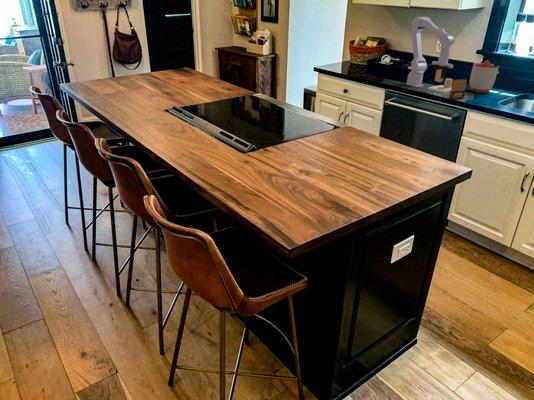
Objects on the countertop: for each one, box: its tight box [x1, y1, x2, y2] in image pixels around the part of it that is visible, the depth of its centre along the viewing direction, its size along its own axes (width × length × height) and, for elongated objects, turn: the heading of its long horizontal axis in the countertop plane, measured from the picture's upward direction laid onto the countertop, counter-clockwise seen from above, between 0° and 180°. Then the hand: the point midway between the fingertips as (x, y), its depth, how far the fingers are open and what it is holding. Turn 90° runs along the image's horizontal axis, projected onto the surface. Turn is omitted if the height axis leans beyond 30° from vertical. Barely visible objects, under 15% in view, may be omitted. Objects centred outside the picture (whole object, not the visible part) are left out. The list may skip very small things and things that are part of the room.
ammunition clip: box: [448, 78, 467, 101], centre depth 258 cm, size 11×2×12 cm, turn 113°
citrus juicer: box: [469, 59, 500, 94], centre depth 277 cm, size 16×17×20 cm
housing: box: [427, 77, 454, 95], centre depth 279 cm, size 13×14×7 cm
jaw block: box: [434, 69, 444, 83], centre depth 273 cm, size 4×4×7 cm
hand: (439, 77), depth 274 cm, fingers closed on jaw block, 3 cm apart
